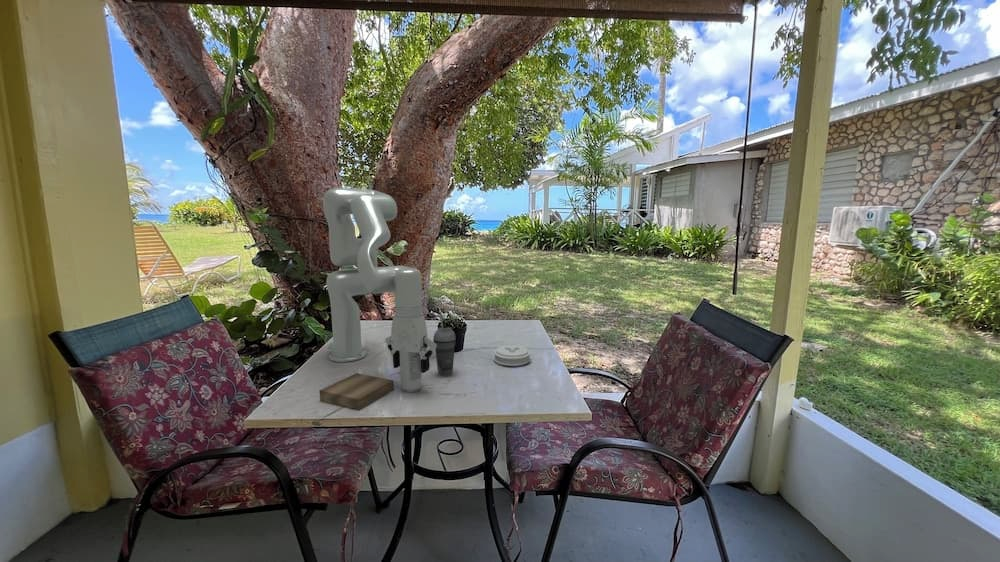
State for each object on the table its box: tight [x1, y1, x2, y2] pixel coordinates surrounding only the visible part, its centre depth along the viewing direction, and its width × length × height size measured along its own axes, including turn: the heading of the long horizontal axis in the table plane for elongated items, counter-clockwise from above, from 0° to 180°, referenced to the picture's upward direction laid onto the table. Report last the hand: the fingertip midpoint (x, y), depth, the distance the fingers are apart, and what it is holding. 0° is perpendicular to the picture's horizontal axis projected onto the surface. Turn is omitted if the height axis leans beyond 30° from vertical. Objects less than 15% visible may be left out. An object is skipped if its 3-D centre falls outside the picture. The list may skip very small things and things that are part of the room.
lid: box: [493, 344, 531, 367], centre depth 145 cm, size 13×13×5 cm
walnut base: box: [319, 372, 395, 411], centre depth 117 cm, size 14×14×3 cm
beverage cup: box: [432, 312, 457, 378], centre depth 132 cm, size 7×7×20 cm
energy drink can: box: [399, 347, 423, 393], centre depth 121 cm, size 6×6×15 cm
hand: (411, 369), depth 121 cm, fingers open, 9 cm apart
